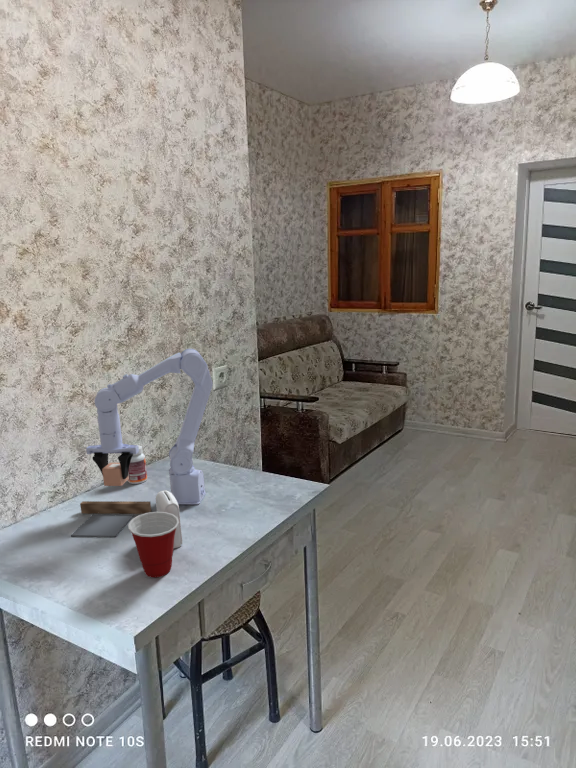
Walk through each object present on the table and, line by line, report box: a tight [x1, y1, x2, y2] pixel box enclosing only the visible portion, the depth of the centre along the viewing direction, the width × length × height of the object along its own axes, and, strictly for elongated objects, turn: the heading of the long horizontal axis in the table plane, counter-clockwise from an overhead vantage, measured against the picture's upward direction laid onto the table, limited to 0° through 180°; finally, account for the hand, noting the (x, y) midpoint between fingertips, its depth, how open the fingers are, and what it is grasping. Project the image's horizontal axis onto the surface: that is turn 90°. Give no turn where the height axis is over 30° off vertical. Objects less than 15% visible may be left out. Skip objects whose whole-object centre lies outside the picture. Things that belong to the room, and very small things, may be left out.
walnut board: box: [79, 500, 152, 515], centre depth 151 cm, size 20×2×3 cm, turn 83°
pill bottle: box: [127, 444, 148, 485], centre depth 173 cm, size 6×6×11 cm
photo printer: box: [155, 489, 183, 549], centre depth 133 cm, size 10×4×12 cm, turn 26°
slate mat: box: [70, 514, 135, 538], centre depth 143 cm, size 12×12×1 cm
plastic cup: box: [127, 511, 179, 578], centre depth 119 cm, size 11×11×12 cm
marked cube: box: [102, 462, 129, 487], centre depth 151 cm, size 5×5×5 cm
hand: (116, 477), depth 152 cm, fingers closed on marked cube, 5 cm apart
